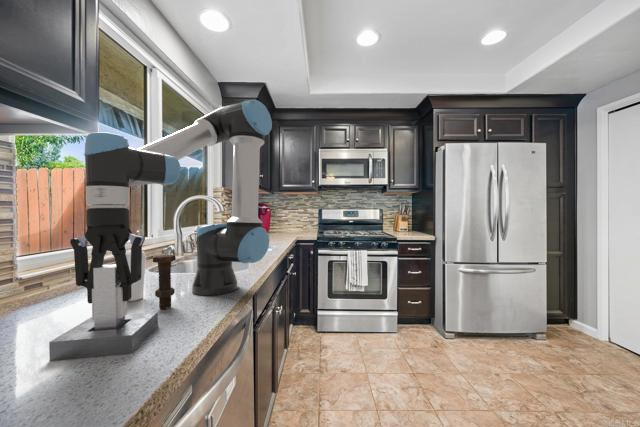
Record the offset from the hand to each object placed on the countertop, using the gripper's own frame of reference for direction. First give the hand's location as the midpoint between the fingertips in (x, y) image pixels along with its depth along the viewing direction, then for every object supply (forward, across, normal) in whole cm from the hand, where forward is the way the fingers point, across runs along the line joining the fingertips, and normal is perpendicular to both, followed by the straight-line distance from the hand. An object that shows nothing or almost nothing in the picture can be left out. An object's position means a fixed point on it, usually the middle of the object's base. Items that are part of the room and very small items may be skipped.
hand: (110, 316), depth 63 cm
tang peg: (+3, 0, 0) cm, 3 cm away
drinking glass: (+5, -9, +34) cm, 36 cm away
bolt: (+5, +4, +22) cm, 23 cm away
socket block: (+5, 0, 0) cm, 5 cm away
